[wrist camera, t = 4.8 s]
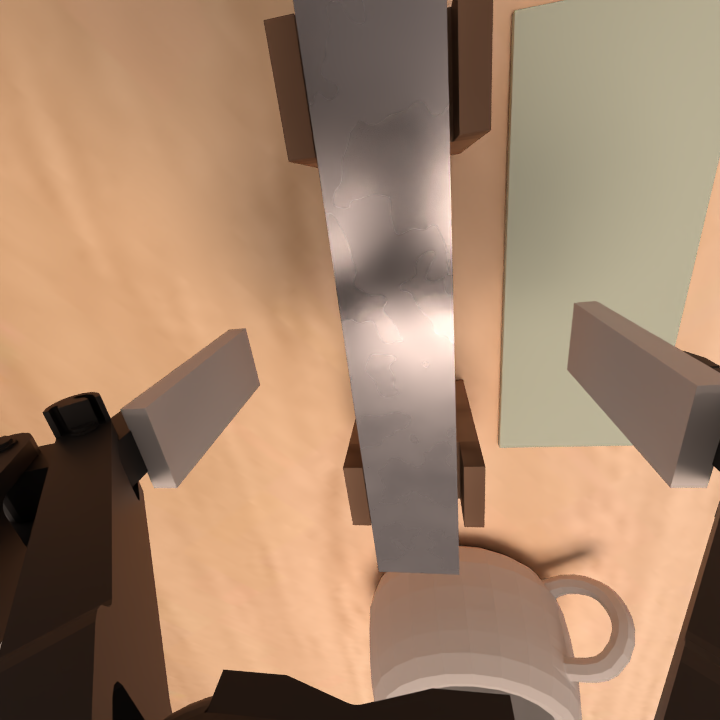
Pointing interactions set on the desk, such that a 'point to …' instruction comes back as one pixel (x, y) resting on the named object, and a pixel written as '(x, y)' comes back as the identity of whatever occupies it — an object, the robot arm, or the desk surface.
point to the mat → (600, 191)
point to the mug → (491, 635)
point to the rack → (466, 126)
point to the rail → (391, 256)
